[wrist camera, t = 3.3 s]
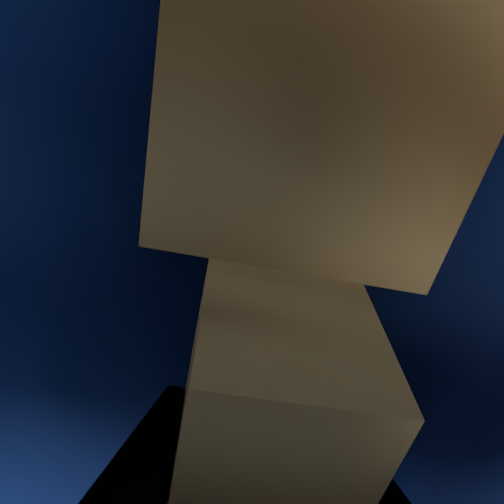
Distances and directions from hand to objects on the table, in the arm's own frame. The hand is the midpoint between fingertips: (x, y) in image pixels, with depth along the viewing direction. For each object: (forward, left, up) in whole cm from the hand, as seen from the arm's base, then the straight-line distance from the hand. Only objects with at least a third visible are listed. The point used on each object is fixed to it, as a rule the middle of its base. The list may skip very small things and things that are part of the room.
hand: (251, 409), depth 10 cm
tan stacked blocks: (+3, 0, -1) cm, 4 cm away
